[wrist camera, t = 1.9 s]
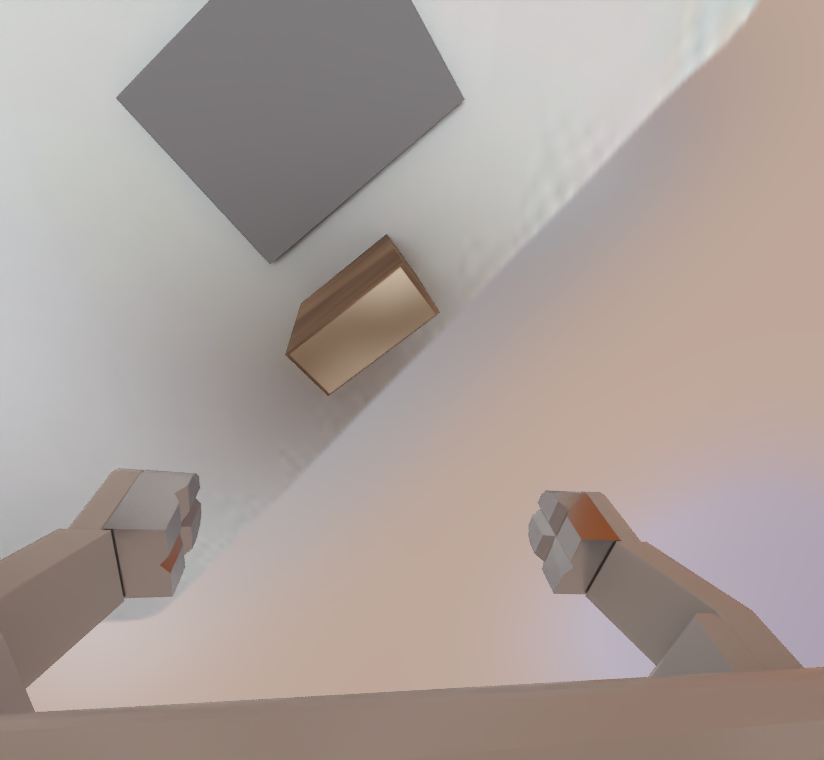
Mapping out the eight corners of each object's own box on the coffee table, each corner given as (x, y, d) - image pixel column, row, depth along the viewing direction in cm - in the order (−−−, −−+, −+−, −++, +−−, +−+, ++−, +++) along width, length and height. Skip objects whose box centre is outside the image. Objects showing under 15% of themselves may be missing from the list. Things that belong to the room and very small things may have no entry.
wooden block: (414, 272, 26) (440, 313, 19) (332, 337, 28) (328, 397, 21) (386, 234, 25) (402, 262, 18) (301, 303, 26) (284, 356, 19)
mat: (272, 261, 25) (270, 264, 24) (123, 100, 20) (115, 98, 20) (460, 101, 22) (464, 99, 22) (339, -123, 18) (338, -135, 17)
